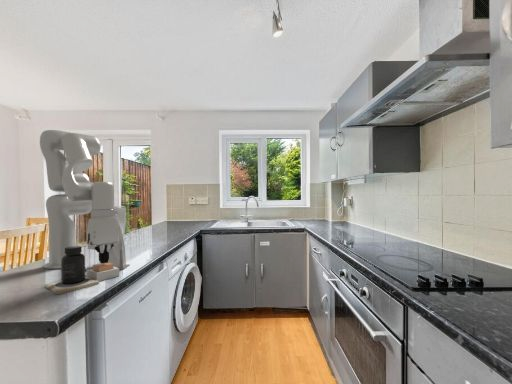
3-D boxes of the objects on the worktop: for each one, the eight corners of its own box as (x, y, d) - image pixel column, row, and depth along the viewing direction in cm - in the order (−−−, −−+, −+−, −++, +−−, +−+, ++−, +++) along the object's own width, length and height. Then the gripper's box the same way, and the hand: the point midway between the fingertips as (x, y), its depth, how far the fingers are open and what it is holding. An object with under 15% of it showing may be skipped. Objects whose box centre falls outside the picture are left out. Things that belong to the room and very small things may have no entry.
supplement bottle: (89, 279, 94) (89, 245, 94) (71, 285, 87) (71, 249, 87) (74, 278, 96) (74, 244, 96) (56, 284, 89) (55, 248, 89)
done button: (93, 270, 100) (93, 264, 100) (106, 267, 104) (106, 261, 104) (99, 272, 97) (99, 266, 97) (113, 269, 101) (113, 263, 101)
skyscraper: (101, 270, 109) (101, 202, 109) (110, 265, 117) (110, 202, 117) (123, 269, 110) (122, 202, 110) (130, 264, 118) (130, 201, 118)
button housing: (87, 277, 99) (87, 269, 99) (109, 272, 106) (109, 265, 106) (96, 281, 95) (96, 273, 95) (119, 276, 101) (119, 268, 101)
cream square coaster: (45, 286, 90) (45, 283, 90) (84, 277, 100) (84, 274, 100) (58, 294, 83) (58, 291, 83) (99, 283, 93) (99, 280, 93)
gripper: (118, 212, 109) (118, 257, 108) (76, 215, 97) (77, 266, 96) (127, 213, 104) (128, 259, 104) (85, 216, 92) (86, 268, 92)
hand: (104, 262), depth 100 cm, fingers closed
